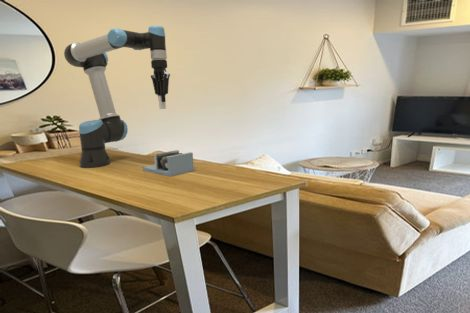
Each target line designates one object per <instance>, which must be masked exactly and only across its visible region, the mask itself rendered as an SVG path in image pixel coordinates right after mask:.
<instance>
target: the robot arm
mask: <svg viewBox="0 0 470 313" xmlns="http://www.w3.org/2000/svg"><path fill="white" fill-rule="evenodd" d="M121 48H129V49H133V50H135V51H143V50H148V49H149V51H150V59H151V60H150V63H151V69H153V75H152V74H151V75H150V79H151V82H152V86H153V89H154V94H155V95H156V96H157V98H158V107H159V110H165V109H167V106H166V100H167V99H166V95H168V94H169V86H170V85H169V83H170V77H171V74H170V73H167V68H168V61H167V59H168V58H167V57H168V56H167V46H166V33H165V28H164V26H162V25H151V26H148V31H146V32H137V31H136V32H135V31H131V30H125V29H121V28H111V29H110V30H109V31H108V32H107V34H104V35H101V36H97V37H95V38H92V39H89V40H86V41H83V42H73V43H71V44H68V45H67V46H66V47H65V49H64V51H63V52H64V53H63V55H64V58H65V60H66V62H67V63H68V64H69V65H70V66H73V67H75V68H82V69H83V72H84V74H86V75H87V76H88V79H89V82H90V86H91V90H92V92H93V96H94V100H95V103H96V107H97V111H98V114H99V118H98V119H92V120H86V121H83V122H81V123H80V124H79V125H78V133H79V139H80V147H81V154H80V159H79V167H81V168H97V167H99V168H100V167H103V166H108V165H110V164H111V159H110V157H109V154H108V153H107V150H106V144H108V143H114V142H116V143H117V142H119V141H122V140H124V139H125V138H126V137H127V135H128V125H127V123H126V122H125V121H124V120H122V119H121V117H120V116H121V115H120V114H117V112H116V109H115V105H114V102H113V99H112V98H113V97H112V95H111V91H110V88H109V84H108V80H107V77H106V74H105V71H106V70H107V66H108V62H109V57H108V55H107V53H108V52H112V51H115V50H118V49H121Z"/></svg>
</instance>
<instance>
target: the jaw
mask: <svg viewBox="0 0 470 313" xmlns="http://www.w3.org/2000/svg"><path fill="white" fill-rule="evenodd" d="M179 153H180V150H179V149H175V150H171V151H165V152H164V151H163V152H159V153H154V154H153V158H154V159H153V162H154V165H155V169H156V170H158V169H163V167H162V165H161V162H160V161H161V159H162V158H163V157H166V156H170V155H174V154H179Z"/></svg>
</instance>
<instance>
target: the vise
mask: <svg viewBox="0 0 470 313" xmlns="http://www.w3.org/2000/svg"><path fill="white" fill-rule="evenodd" d="M167 161H168V169H167V170H165V169H158V170H156V169H155V164H151V165H147V166H142V168H141V170H142V171H143V170H144V172H148V173H153V174H158V175H162V176H166V177H174V176H178V175H182V174H186V173H191V172H194V170H195V167H194V153H193V152H185V153H183V154H179V155H174V156H169V157H167ZM190 171H191V172H190Z"/></svg>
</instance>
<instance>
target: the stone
mask: <svg viewBox="0 0 470 313" xmlns="http://www.w3.org/2000/svg"><path fill="white" fill-rule="evenodd" d="M179 154H184V153H182V152H179ZM179 154H174V155H179ZM174 155H170V156H174ZM167 157H169V156H166V157H163V158H162V159H161V161H160V162H161V165H162V167H163V169H165V170H167V169H168V161H167Z"/></svg>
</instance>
